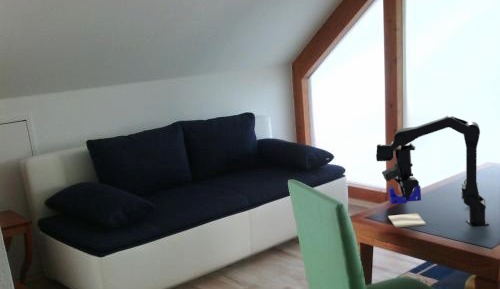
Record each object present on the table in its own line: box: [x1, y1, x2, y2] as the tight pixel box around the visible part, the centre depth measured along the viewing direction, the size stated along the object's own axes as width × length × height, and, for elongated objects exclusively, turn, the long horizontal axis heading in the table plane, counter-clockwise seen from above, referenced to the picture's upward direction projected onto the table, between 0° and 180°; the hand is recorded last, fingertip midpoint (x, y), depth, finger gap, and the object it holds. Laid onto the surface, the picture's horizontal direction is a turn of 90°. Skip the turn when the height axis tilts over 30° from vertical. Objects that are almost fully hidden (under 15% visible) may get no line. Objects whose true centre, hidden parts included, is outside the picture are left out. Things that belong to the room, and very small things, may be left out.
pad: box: [387, 212, 427, 229], centre depth 210 cm, size 12×12×1 cm
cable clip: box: [388, 184, 422, 205], centre depth 208 cm, size 12×4×6 cm, turn 87°
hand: (405, 197), depth 208 cm, fingers closed on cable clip, 4 cm apart
